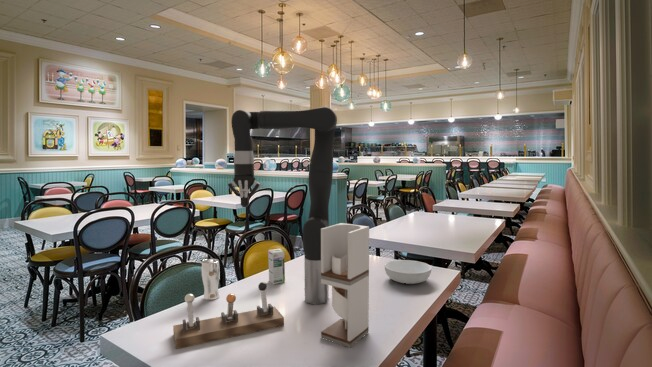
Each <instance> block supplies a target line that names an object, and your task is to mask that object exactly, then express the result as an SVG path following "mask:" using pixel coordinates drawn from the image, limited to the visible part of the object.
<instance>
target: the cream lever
mask: <svg viewBox="0 0 652 367" xmlns="http://www.w3.org/2000/svg"><path fill="white" fill-rule="evenodd" d="M194 301H195V295H194V294H193V293H187V294H186V295H185V296H184V302H185V303H186V304H187V318H188V321H186V323H187V329H190V328H196V322H195V321H196V319H194V308H193V307H194V306H193V302H194Z"/></svg>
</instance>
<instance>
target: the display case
mask: <svg viewBox="0 0 652 367" xmlns="http://www.w3.org/2000/svg"><path fill="white" fill-rule="evenodd" d="M321 283H322V284H326V285H329V287H331V306H332V309H333V312H334V313H336V314H337V316H338V317H340V319H338V320H337V321H335V322H334V323H332V324H330V325H329V326H328V327H326V328H325V329H323V330H322V331H320V335H321V336H320V338H321V339H323V338H324V339H323V340H326V339H327V340H326V341H329V340H330V341H329V342H332V341H333V343H334V342H335V344H337V343H338V345H340V344H341V346H343V347H345V348H349V349H351V348H352V347H353V346H354V345H355V344H357V343H358V342H360V340H362V339H363V338H364V337H365V336H367V335H368V334H369V333H368V332H369V326H370V324H369V322H370V320H369V317H370V315H369V310H370V307H369V306H370V304H369V303H370V226H368V225H367V226H366V225H360V224H352V223H345V222H340V223H336V224H333V225H329V227H325V228H322V229H321ZM367 333H368V334H367ZM366 334H367V335H366ZM364 335H365V336H364ZM363 336H364V337H363ZM362 337H363V338H362ZM361 338H362V339H361ZM356 342H357V343H356ZM350 347H351V348H350Z"/></svg>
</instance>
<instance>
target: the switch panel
mask: <svg viewBox="0 0 652 367" xmlns="http://www.w3.org/2000/svg"><path fill="white" fill-rule="evenodd" d="M267 307H269V313H267V314H262V309H261V308H262V306H260V305H256V309H253V310H248V311H242V312H239V313H238V311H237V310H236V309H235V310H234V309H233V314H234V320H231V321H226V316H225V315H226V314H225V312H224V311H223V312H221V313H220V314H221V315H220V316H218V317H217V316H216V317H213V318H206V319H201V320H200V318H199V316H196V317H195V322H196V328H190V329H187V321H186V318H185V319H182V323H180V324H174V325H172V327H173V332H172V333H173V340H174V345H175V349H176V350H177V349H183V348H187V347H193V346H197V345H202V344H206V343H210V342H214V341H215V342H216V341H220V340H225V339H229V338H235V337H238V336H244V335H248V334H253V333H256V332H257V333H258V332H262V331H267V330H272V329H276V328H281V327H285V317H284V316H283V315H282V313H281V312H280V311H279V310H278V309H277V307H275V306H273V305H272V304H271V303H267Z"/></svg>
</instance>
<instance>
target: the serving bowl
mask: <svg viewBox="0 0 652 367" xmlns="http://www.w3.org/2000/svg"><path fill="white" fill-rule="evenodd" d="M432 268H433V267H432V266H431V265H430V264H428V263H426V262H422V261H418V260H412V259H411V260H409V259H398V260H397V259H395V260H391V261H390V260H389V261H388V262H385V264H384V271H385V275H387V276H388V277H389V279H391V280H393V281H395V282H397V283H401V284H404V283H406V284H405V285H413V284H419V283H423V282H426V280H428V279H429V277H430V276H431V274H432Z"/></svg>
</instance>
